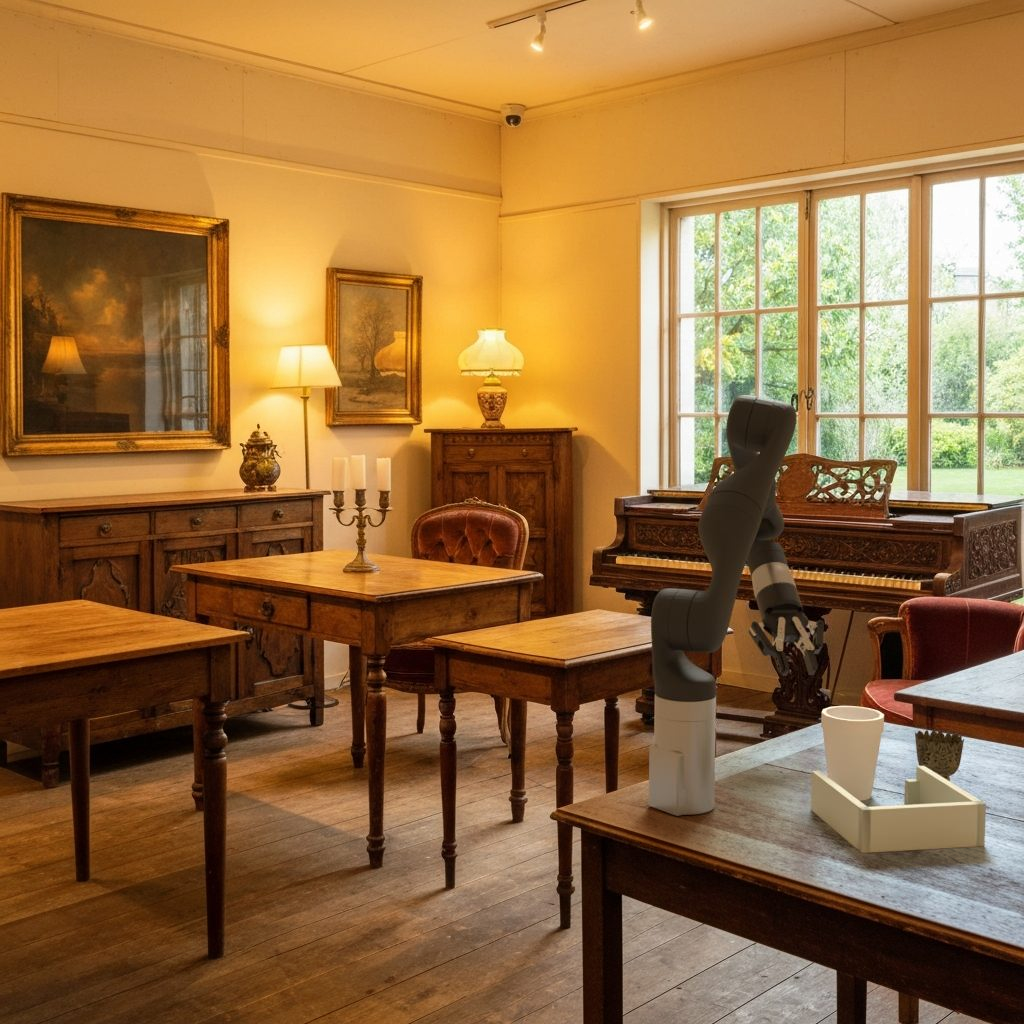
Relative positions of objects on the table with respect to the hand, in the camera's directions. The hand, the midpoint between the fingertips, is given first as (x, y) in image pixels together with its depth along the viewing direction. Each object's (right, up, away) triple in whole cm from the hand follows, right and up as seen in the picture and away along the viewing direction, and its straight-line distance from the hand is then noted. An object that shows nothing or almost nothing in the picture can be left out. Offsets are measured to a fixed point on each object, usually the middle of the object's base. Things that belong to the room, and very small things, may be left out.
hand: (799, 672), depth 213 cm
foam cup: (+3, -17, -20) cm, 27 cm away
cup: (+19, -16, -15) cm, 29 cm away
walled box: (+5, -18, -35) cm, 40 cm away
